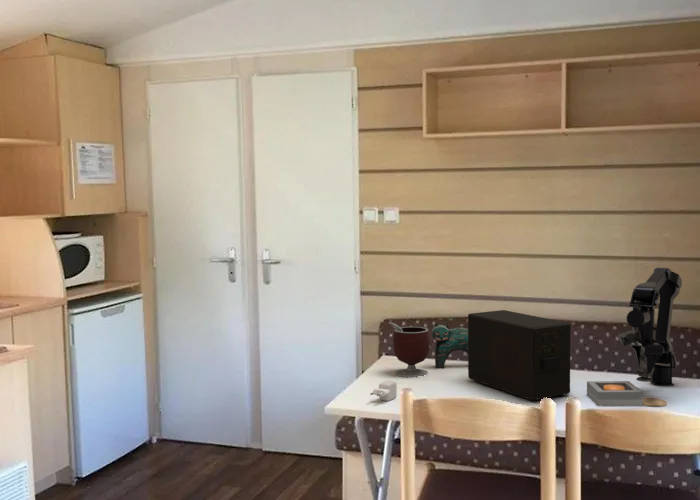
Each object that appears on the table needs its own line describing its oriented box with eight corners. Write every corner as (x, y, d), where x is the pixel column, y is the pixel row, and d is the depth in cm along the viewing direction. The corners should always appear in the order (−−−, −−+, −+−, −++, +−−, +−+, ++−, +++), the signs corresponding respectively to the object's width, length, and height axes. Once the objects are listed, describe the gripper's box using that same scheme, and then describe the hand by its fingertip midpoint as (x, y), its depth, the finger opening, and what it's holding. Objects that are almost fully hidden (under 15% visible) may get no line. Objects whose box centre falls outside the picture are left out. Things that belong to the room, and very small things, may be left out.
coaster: (661, 399, 253) (661, 397, 253) (671, 406, 244) (671, 404, 244) (633, 399, 253) (633, 397, 253) (642, 406, 244) (642, 405, 244)
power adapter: (380, 406, 250) (380, 388, 250) (368, 403, 253) (367, 386, 253) (398, 398, 259) (398, 381, 259) (386, 396, 262) (386, 379, 262)
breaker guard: (628, 394, 260) (628, 381, 259) (642, 405, 246) (642, 391, 246) (586, 394, 260) (586, 381, 260) (598, 405, 246) (598, 392, 246)
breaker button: (620, 390, 256) (621, 384, 256) (627, 395, 250) (627, 389, 249) (601, 390, 256) (601, 384, 256) (606, 395, 250) (606, 389, 250)
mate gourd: (430, 369, 299) (430, 319, 298) (429, 378, 286) (428, 325, 284) (391, 369, 302) (390, 318, 300) (387, 377, 288) (386, 325, 287)
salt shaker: (656, 381, 255) (657, 346, 254) (639, 382, 255) (639, 346, 254) (649, 377, 261) (650, 342, 260) (632, 377, 261) (632, 343, 260)
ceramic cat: (433, 369, 300) (432, 319, 298) (430, 365, 306) (429, 316, 305) (483, 367, 302) (483, 317, 300) (479, 364, 308) (478, 314, 306)
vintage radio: (581, 396, 258) (581, 323, 256) (537, 405, 249) (537, 328, 247) (508, 374, 291) (508, 308, 289) (466, 380, 282) (466, 313, 280)
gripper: (612, 318, 266) (612, 363, 267) (630, 328, 248) (629, 375, 249) (645, 318, 266) (644, 362, 267) (665, 328, 247) (664, 375, 248)
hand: (644, 369), depth 258 cm, fingers closed on salt shaker, 8 cm apart
